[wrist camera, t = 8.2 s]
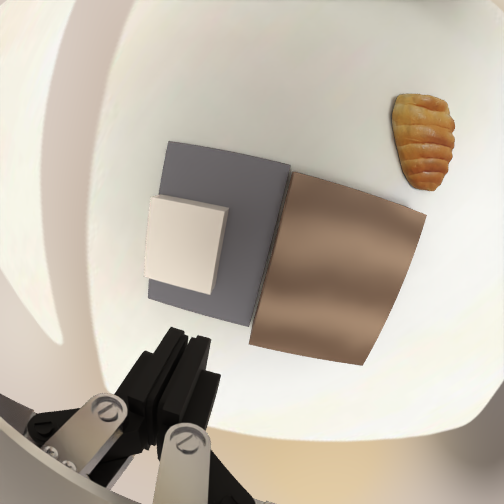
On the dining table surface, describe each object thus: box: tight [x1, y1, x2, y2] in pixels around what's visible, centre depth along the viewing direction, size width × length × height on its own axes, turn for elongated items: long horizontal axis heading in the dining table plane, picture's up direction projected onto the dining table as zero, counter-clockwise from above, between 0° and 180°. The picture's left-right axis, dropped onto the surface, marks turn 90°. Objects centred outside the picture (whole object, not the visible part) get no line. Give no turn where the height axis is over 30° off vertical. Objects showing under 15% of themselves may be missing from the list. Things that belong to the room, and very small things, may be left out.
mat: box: [148, 141, 291, 327], centre depth 27 cm, size 17×12×1 cm
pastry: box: [392, 94, 455, 191], centre depth 20 cm, size 9×7×4 cm
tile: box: [144, 194, 229, 295], centre depth 26 cm, size 8×7×2 cm
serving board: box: [249, 171, 427, 366], centre depth 24 cm, size 16×12×4 cm
